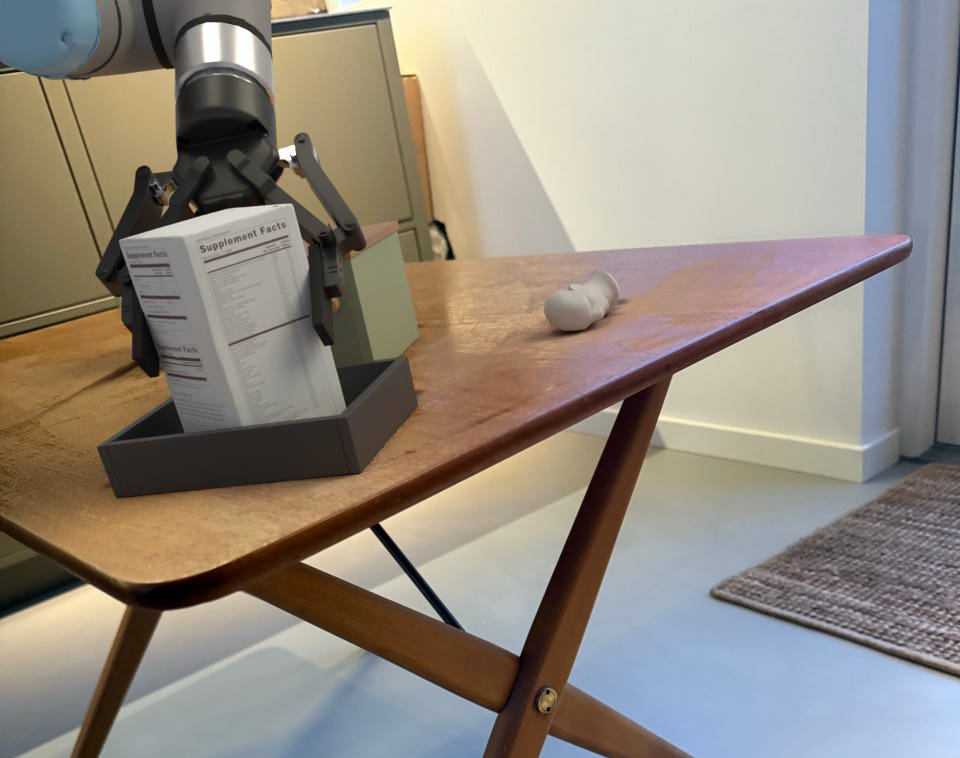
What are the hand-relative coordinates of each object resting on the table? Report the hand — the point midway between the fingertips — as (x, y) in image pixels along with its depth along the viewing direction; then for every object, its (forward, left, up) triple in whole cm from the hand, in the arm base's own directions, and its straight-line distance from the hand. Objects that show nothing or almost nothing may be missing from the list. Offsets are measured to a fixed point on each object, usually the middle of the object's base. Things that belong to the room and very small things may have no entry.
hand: (233, 352), depth 73 cm
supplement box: (0, +2, -8) cm, 9 cm away
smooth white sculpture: (+21, +29, -8) cm, 37 cm away
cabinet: (-3, +27, -8) cm, 28 cm away
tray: (0, +2, -8) cm, 8 cm away
